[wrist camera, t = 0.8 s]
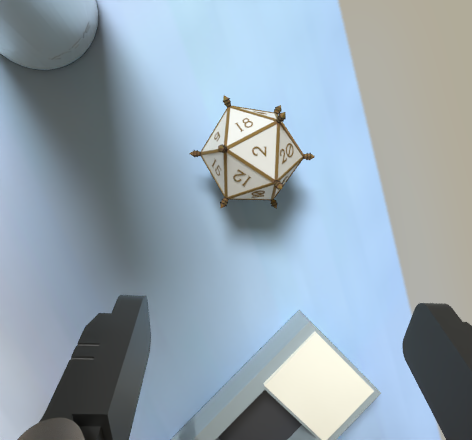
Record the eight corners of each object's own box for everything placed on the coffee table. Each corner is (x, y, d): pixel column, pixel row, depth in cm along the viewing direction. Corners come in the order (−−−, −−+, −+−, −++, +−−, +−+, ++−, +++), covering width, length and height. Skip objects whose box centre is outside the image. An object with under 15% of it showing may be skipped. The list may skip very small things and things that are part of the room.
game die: (240, 142, 36) (296, 63, 28) (284, 213, 34) (357, 150, 26) (161, 159, 31) (203, 68, 23) (208, 244, 29) (270, 177, 21)
